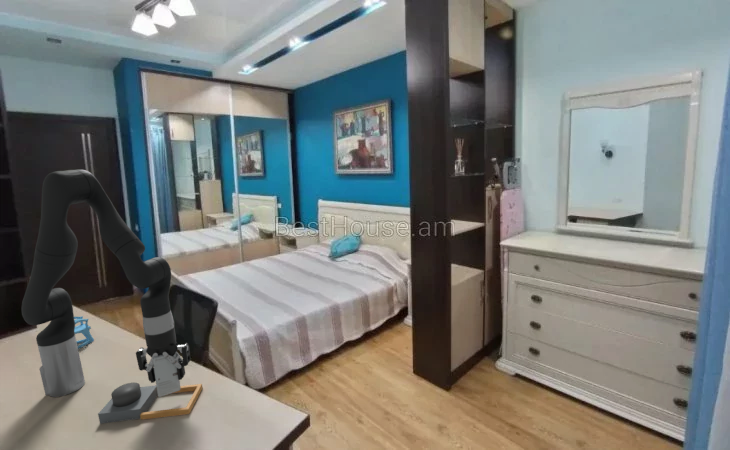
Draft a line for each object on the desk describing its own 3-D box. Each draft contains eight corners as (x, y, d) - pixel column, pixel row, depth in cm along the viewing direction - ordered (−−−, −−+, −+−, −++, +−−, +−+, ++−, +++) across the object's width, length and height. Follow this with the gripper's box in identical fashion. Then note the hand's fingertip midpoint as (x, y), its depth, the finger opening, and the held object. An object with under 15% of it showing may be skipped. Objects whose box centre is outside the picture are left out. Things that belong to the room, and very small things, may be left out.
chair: (97, 342, 150) (92, 314, 148) (72, 351, 143) (67, 322, 141) (88, 338, 154) (83, 311, 152) (64, 346, 147) (59, 318, 145)
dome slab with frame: (98, 424, 101) (94, 405, 100) (122, 397, 113) (118, 379, 112) (189, 413, 104) (186, 395, 102) (202, 388, 115) (200, 370, 114)
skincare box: (158, 398, 104) (151, 359, 102) (157, 390, 108) (150, 352, 106) (182, 389, 108) (176, 352, 105) (179, 382, 111) (174, 346, 109)
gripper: (125, 336, 100) (135, 390, 103) (180, 331, 101) (188, 384, 104) (139, 324, 107) (148, 375, 110) (190, 319, 109) (197, 369, 112)
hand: (167, 379), depth 107 cm, fingers closed on skincare box, 7 cm apart
